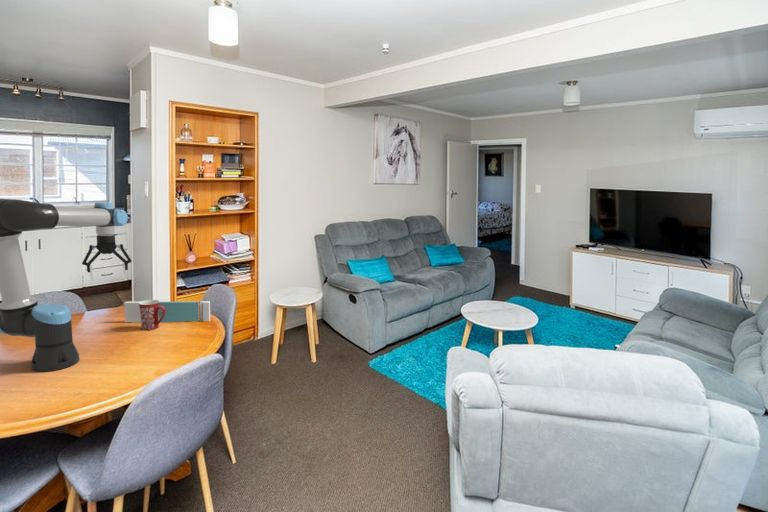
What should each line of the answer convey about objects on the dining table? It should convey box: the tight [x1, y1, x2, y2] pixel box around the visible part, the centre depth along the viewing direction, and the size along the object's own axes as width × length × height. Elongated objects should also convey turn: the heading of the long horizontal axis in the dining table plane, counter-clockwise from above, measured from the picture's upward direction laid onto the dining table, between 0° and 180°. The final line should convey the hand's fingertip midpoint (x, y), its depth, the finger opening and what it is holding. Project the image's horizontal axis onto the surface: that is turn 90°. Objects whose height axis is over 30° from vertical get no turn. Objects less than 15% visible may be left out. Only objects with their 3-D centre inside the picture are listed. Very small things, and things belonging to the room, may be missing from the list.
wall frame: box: [123, 300, 211, 323], centre depth 223 cm, size 2×41×11 cm, turn 99°
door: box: [159, 300, 200, 323], centre depth 223 cm, size 4×19×10 cm, turn 99°
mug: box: [138, 299, 166, 331], centre depth 211 cm, size 13×9×14 cm
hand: (108, 277), depth 210 cm, fingers open, 13 cm apart
